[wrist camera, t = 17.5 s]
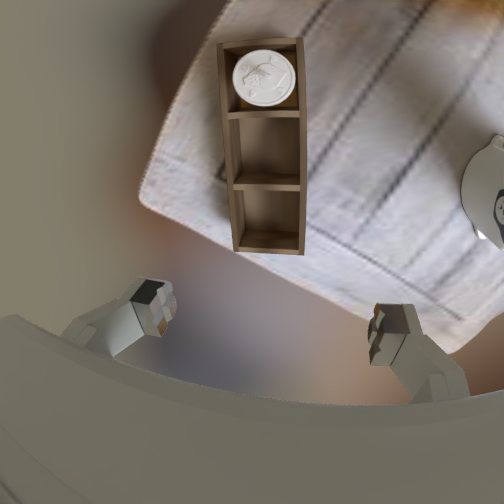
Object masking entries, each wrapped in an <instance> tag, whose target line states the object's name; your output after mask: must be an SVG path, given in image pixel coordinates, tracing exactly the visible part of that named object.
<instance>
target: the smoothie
mask: <svg viewBox="0 0 504 504" xmlns="http://www.w3.org/2000/svg"><path fill="white" fill-rule="evenodd" d="M295 80H296V79H295V72H294V69H293V67H292V65H291V64H290V62H289V61H288V60H287V59H286V58H285V57H284V56H282V55H281V54H279V53H277V52H274V51H271V50H256V51H253V52H250V53H248V54H246V55H245V56H243V57H242V58H241V59H240V60H239V61H238V62H237V64H236V66H235V68H234V71H233V85H234V88H235V90H236V92H237V93H238V94H239V96H240V97H241V98H242V99H244V100H245V101H247V102H249V103H251V104H253V105H257V106H272V105H275V104H279V103H280V102H282V101H283V100H285V99H286V98H287V97H288V96H289V95H290V94H291V92H292V90H293V88H294V85H295Z"/></svg>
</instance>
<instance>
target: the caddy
mask: <svg viewBox="0 0 504 504" xmlns="http://www.w3.org/2000/svg"><path fill="white" fill-rule="evenodd" d="M256 50H271V51H274V52H277V53H279V54H281V55H282V56H284V57H285V58H286V59H287V60H288V61H289V62H290V64H291V65H292V67H293V69H294V72H295V79H296V80H295V85H294V88H293V90H292V92H291V94H290V95H289V96H288V97H287V98H286V99H285V100H283V101H282V102H280V103H279V104H275V105H272V106H257V105H253V104H251V103H249V102H247V101H245V100H244V99H242V98H241V97H240V96H239V94H238V93H237V92H236V90H235V88H234V85H233V71H234V68H235V66H236V64H237V62H238V61H239V60H240V59H241V58H242V57H243V56H245V55H246V54H248V53H250V52H253V51H256ZM217 59H218V75H219V89H220V103H221V116H222V129H223V142H224V154H225V165H226V177H227V188H228V199H229V210H230V220H231V230H232V240H233V250H234V252H252V253H270V254H288V255H304V249H305V229H306V198H307V110H306V81H305V61H304V46H303V38H270V39H255V40H244V41H235V42H227V43H219V44H217Z"/></svg>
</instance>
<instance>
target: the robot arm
mask: <svg viewBox="0 0 504 504" xmlns="http://www.w3.org/2000/svg"><path fill="white" fill-rule="evenodd" d="M503 144H504V138H503V137H502V136H500V135H496V136H494V138H493V139H492V141H491V142H490V144H489V145H488V146H487V147H485V148H484V149H482V150H480V151H479V152H478V153H476V154H475V155H474V157H473V158H472V159H471V161H470V162H469V164H468V166H467V168H466V170H465V173H464V176H463V180H462V187H461V197H462V204H463V207H464V210H465V212H466V214H467V216H468V218H469V219H470V220H471V221H472V223H473V225H474V229H475V233H476V236H477V237H478V238H480V239H489V240H490V241H491V242H492V243H493V244H494V245H496V246H497V247H498V248H499V249H500V250H504V147H503ZM172 290H173V288H172V285H171V283H170V282H168V281H163V280H157V279H152V278H145V277H137V278H136V279H135V280H134V281H133V283H132V284H131V285H130V286H129V287H128V288H127V290H126V291H125V292H124V293H123V294H122V296H121V297H120V298H119V299H114V300H112V301H110V302H108V303H106V304H104V305H101V306H99V307H97V308H95V309H93V310H91V311H89V312H87V313H85V314H83V315H81V316H79V317H77V318H75V319H73V321H72V322H71V323H70V324H69V325H68V326H67V328H66V329H65V330H64V331H63V333H62V334H61V335H60V336H58V335H56V334H53V333H51V332H49V331H47V330H45V329H43V328H41V327H39V326H38V325H36V324H34V323H32V322H30V321H28V320H26V319H25V318H23V317H21V316H20V315H18V314H9V315H6V316H4V317H2V318H0V504H504V390H500V391H496V392H491V393H487V394H482V395H477V396H472V397H470V393H469V389H468V385H467V381H466V377H465V374H464V371H463V370H462V369H461V368H460V367H459V366H458V365H457V364H456V363H455V362H454V361H453V360H452V359H451V358H450V357H449V356H448V355H447V354H446V353H445V352H444V351H443V350H442V349H441V348H440V347H439V346H438V345H437V344H436V343H435V342H434V341H433V340H432V339H431V338H430V337H428V336H427V335H423V332H422V329H421V325H420V322H419V319H418V316H417V313H416V310H415V307H414V305H413V304H391V303H377V304H376V305H375V308H374V317H373V318H372V319H371V320H370V323H369V327H368V343H369V344H370V345H371V348H370V350H369V357H370V365H375V366H391V369H392V370H393V372H394V373H395V375H396V376H397V377H398V379H399V380H400V381H401V383H402V385H403V386H404V387H405V389H406V390H407V392H408V393H409V395H410V396H411V398H412V400H411V401H410V402H409V403H408V404H398V405H337V404H318V403H306V402H296V401H286V400H278V399H270V398H263V397H257V396H251V395H244V394H239V393H234V392H228V391H224V390H219V389H214V388H209V387H205V386H201V385H196V384H192V383H188V382H185V381H181V380H177V379H173V378H170V377H166V376H163V375H159V374H156V373H153V372H149V371H146V370H143V369H140V368H137V367H134V366H131V365H128V364H125V363H122V362H120V361H117V360H115V359H114V358H113V356H115V355H116V354H117V353H119V352H120V351H122V350H123V349H125V348H126V347H127V346H129V345H130V344H132V343H133V342H135V341H136V340H137V339H139V338H140V337H142V336H143V335H144V334H149V335H153V336H158V337H162V335H163V334H164V332H165V330H166V328H167V327H168V325H167V322H168V321H169V320H171V319H172V318H173V317H174V315H175V312H176V299H175V297H174V296H173V295H172V294H171V292H172Z"/></svg>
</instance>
